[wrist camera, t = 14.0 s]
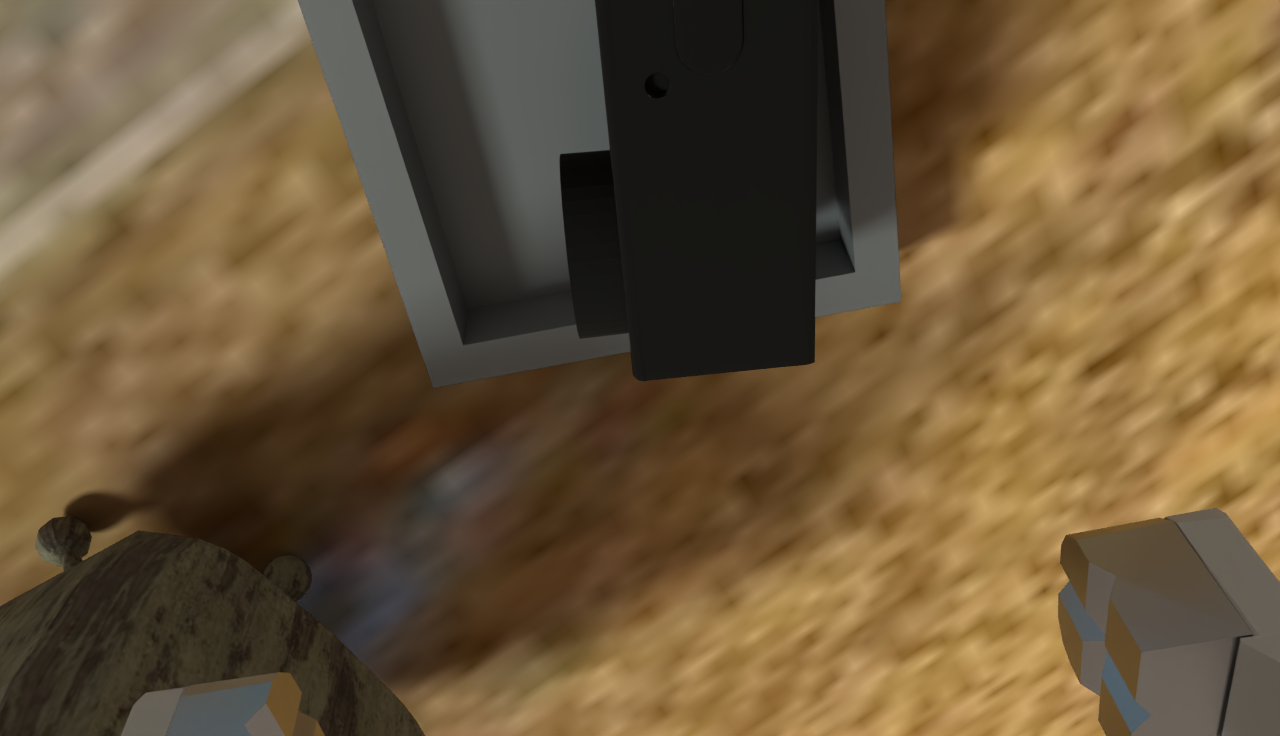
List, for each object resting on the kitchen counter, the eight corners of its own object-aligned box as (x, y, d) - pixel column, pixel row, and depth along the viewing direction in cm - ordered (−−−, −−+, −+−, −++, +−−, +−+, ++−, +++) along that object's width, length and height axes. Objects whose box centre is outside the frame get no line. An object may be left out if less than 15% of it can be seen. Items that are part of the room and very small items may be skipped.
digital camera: (529, -144, 25) (521, -82, 20) (761, -166, 25) (821, -111, 20) (579, 252, 31) (583, 390, 25) (768, 233, 31) (816, 367, 25)
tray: (252, -224, 25) (223, -212, 23) (839, -350, 24) (866, -350, 22) (441, 341, 33) (433, 388, 31) (879, 259, 32) (901, 301, 30)
